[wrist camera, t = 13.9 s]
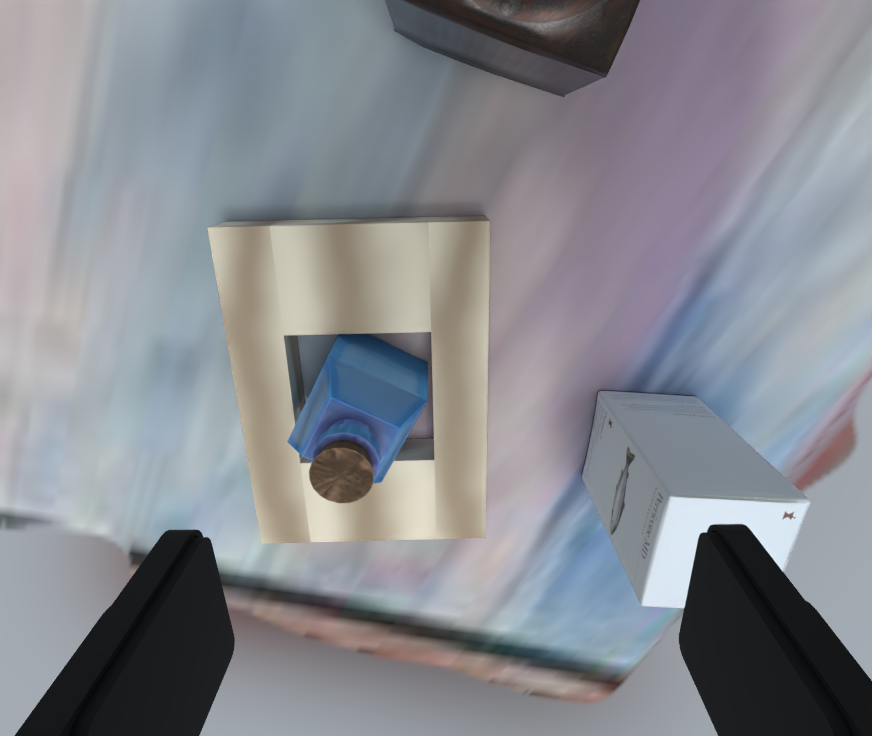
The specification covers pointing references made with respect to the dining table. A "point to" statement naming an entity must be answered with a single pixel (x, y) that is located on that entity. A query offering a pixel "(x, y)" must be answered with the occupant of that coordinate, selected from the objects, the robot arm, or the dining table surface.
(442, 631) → the dining table surface
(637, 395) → the supplement box
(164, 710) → the robot arm
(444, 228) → the hole board
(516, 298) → the dining table surface
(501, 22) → the coffee grinder
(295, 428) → the perfume bottle
